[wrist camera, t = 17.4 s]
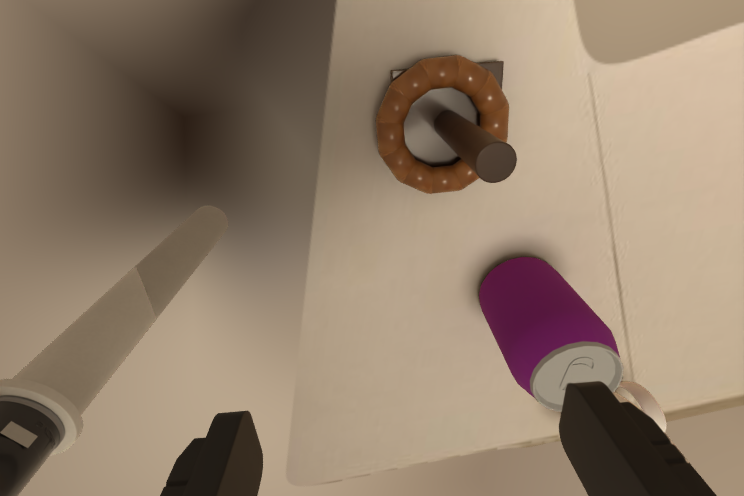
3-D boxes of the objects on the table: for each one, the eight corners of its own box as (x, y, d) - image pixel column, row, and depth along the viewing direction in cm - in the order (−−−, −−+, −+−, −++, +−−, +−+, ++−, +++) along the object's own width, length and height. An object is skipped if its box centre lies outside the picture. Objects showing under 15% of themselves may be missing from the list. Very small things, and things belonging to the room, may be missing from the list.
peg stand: (395, 175, 32) (415, 244, 20) (390, 70, 29) (409, 79, 17) (492, 167, 32) (567, 232, 20) (498, 61, 28) (595, 63, 17)
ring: (382, 194, 32) (383, 202, 30) (370, 65, 27) (370, 65, 26) (500, 181, 31) (508, 188, 30) (506, 48, 27) (516, 48, 25)
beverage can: (535, 325, 39) (601, 426, 29) (465, 312, 38) (504, 411, 28) (569, 261, 36) (657, 347, 25) (493, 244, 35) (550, 326, 24)
